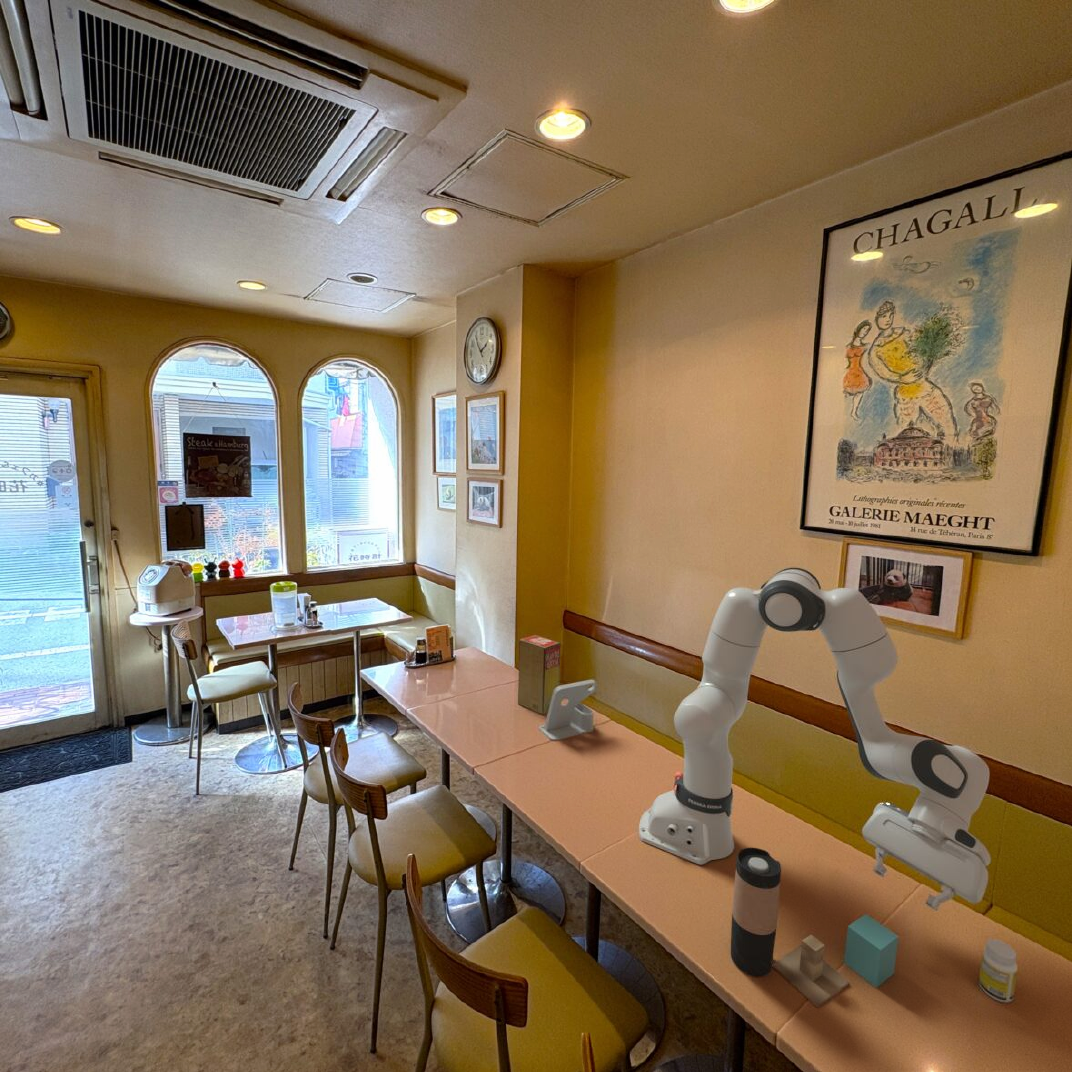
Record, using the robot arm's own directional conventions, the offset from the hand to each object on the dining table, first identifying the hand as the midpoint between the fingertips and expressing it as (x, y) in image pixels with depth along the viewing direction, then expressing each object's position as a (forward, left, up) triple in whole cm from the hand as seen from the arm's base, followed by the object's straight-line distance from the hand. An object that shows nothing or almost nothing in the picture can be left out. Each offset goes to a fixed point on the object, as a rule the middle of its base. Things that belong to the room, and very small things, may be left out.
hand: (903, 889), depth 107 cm
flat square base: (-16, -13, -12) cm, 24 cm away
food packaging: (-103, +69, -12) cm, 124 cm away
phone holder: (-87, +56, -12) cm, 104 cm away
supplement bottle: (+14, -3, -12) cm, 19 cm away
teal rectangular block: (-6, -7, -12) cm, 15 cm away
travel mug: (-26, -14, -12) cm, 32 cm away
